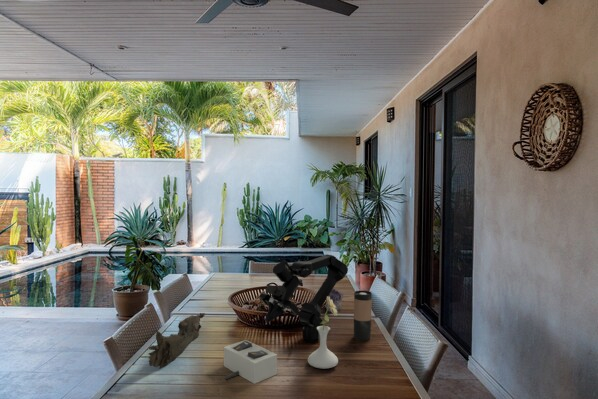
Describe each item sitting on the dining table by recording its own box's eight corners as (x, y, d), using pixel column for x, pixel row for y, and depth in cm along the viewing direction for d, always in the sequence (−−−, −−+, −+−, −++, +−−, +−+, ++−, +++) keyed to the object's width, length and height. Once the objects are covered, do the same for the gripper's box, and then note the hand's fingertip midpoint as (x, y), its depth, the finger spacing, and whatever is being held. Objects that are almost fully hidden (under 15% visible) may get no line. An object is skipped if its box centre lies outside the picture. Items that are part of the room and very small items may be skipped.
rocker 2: (260, 353, 142) (261, 350, 142) (267, 357, 139) (267, 353, 139) (247, 355, 137) (248, 351, 138) (254, 358, 135) (254, 355, 135)
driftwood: (145, 375, 132) (146, 331, 134) (197, 341, 184) (197, 309, 186) (161, 375, 132) (161, 331, 134) (208, 340, 184) (208, 309, 186)
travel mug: (372, 336, 176) (373, 291, 175) (368, 342, 169) (369, 295, 168) (356, 333, 179) (357, 289, 178) (351, 339, 172) (351, 293, 172)
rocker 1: (246, 343, 148) (245, 340, 148) (251, 345, 146) (251, 343, 145) (233, 350, 144) (232, 347, 144) (238, 353, 142) (238, 350, 141)
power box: (245, 357, 152) (245, 339, 151) (276, 374, 139) (277, 354, 139) (211, 370, 141) (211, 350, 141) (242, 389, 128) (242, 367, 128)
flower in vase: (329, 374, 139) (330, 304, 138) (301, 366, 145) (302, 299, 144) (345, 361, 150) (346, 296, 149) (319, 354, 156) (320, 291, 155)
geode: (345, 313, 208) (343, 295, 207) (324, 315, 208) (321, 297, 208) (343, 301, 228) (341, 284, 227) (323, 303, 229) (321, 286, 228)
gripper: (262, 272, 163) (240, 304, 155) (294, 281, 149) (271, 316, 142) (276, 288, 168) (256, 320, 161) (308, 297, 155) (287, 332, 148)
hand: (266, 321), depth 153 cm, fingers closed
